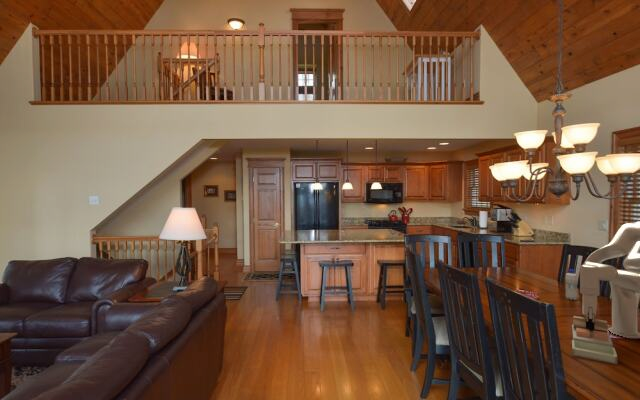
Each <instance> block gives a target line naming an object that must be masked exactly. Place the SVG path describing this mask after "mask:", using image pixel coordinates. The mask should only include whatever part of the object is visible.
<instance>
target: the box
mask: <svg viewBox="0 0 640 400" xmlns="http://www.w3.org/2000/svg"><path fill="white" fill-rule="evenodd" d="M571 350H572V357H578V358H583V359H589V360H593V361H599V362H604V363H609V364H615V365H618V360H619V359H618V355H617V351H616V349H615V347H614V346H613V347H610V346H604V345H598V344H593V343H587V342H581V341H575V340H573V339H572V340H571Z"/></svg>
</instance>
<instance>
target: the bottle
mask: <svg viewBox="0 0 640 400" xmlns="http://www.w3.org/2000/svg"><path fill="white" fill-rule="evenodd" d="M567 271H568V272H567V273H565V277H564V278H565V279H564V280H565V299H567V300H570V301H577V300H578V276H577V274H576V273H575V270H574V269H572V268H569V269H568V270H567Z"/></svg>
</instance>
